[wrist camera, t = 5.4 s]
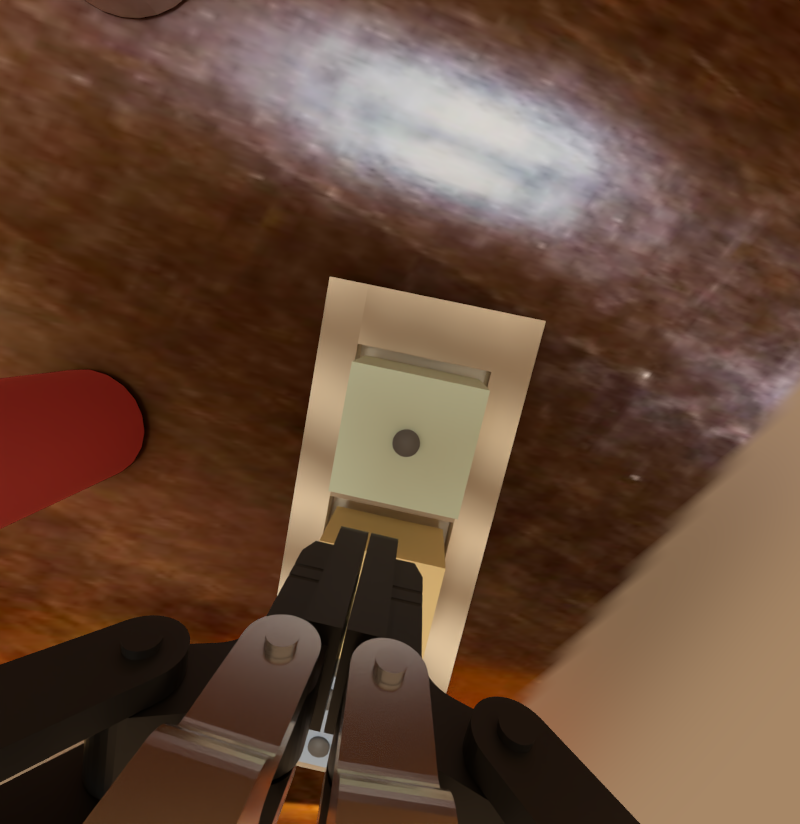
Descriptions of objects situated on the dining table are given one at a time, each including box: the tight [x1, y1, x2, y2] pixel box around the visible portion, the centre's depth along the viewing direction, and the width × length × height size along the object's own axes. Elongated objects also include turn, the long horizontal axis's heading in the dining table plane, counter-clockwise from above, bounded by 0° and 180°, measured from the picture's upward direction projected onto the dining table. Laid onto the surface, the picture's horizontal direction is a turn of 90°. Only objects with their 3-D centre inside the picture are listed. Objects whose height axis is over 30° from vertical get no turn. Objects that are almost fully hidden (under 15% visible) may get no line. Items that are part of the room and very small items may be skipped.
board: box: [277, 277, 546, 772], centre depth 26 cm, size 30×11×2 cm, turn 168°
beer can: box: [0, 370, 144, 529], centre depth 20 cm, size 7×7×12 cm
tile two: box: [319, 506, 446, 659], centre depth 23 cm, size 6×6×4 cm
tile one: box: [328, 355, 490, 519], centre depth 21 cm, size 6×6×4 cm
